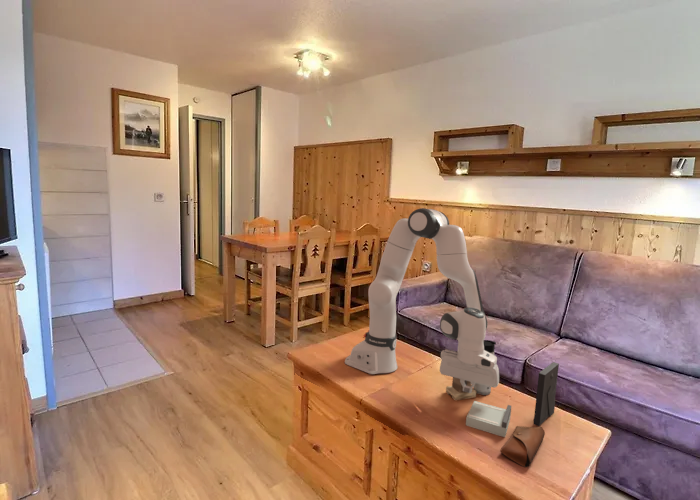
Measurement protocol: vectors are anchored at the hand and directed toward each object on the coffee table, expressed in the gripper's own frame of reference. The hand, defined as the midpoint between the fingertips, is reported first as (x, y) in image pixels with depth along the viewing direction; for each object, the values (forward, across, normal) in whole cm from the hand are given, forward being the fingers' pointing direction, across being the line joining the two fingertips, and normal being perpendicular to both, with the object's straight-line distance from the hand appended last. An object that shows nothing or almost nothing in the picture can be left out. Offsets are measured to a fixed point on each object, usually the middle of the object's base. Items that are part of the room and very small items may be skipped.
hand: (467, 391), depth 140 cm
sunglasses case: (+6, +19, -16) cm, 25 cm away
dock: (+5, +9, -8) cm, 13 cm away
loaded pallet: (+5, -3, +6) cm, 8 cm away
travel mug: (+5, +3, +13) cm, 14 cm away
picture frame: (+5, +25, +5) cm, 26 cm away
